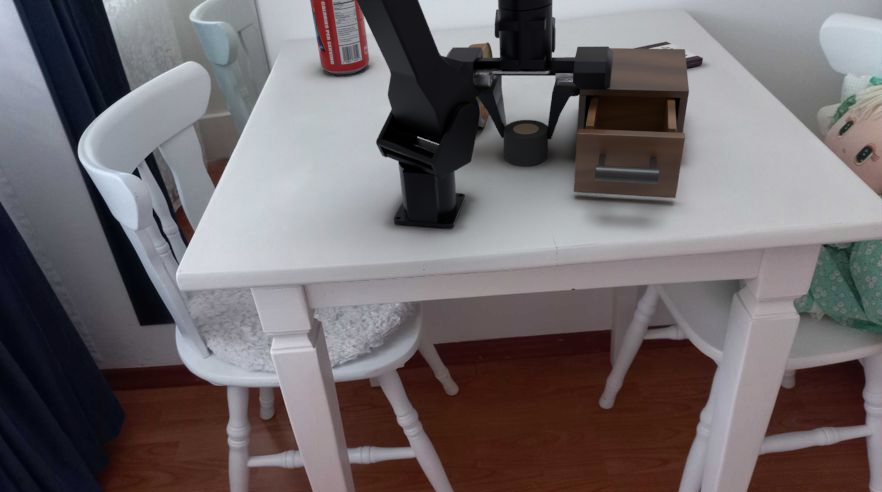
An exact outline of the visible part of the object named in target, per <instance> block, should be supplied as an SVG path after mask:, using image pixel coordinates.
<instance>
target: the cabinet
mask: <svg viewBox="0 0 882 492" xmlns="http://www.w3.org/2000/svg"><path fill="white" fill-rule="evenodd" d="M609 48H610V47H609ZM610 49H611V50H612V51H613V64H612V75H611V83H610V88H607V89H605V90H585V89H581V90H580V94H579V95H578V108H577V109H578V111H577V124H576V125H577V129H576V133H577V132H578V129H586V122H587V117H588V111H589V106H590V100H591V95H596V96H632V97H668V98H675V110H676V128H677V129H676V133H684V126H685V120H686V114H687V107H688V101H689V94H690V89H689V88H690V87H689V79H688V78H689V77H688V68H687V66H686V56H685V50H686V49H685V48H682V49H633V47H631V48H628V47H627V48H619V47H617V48H616V47H611V48H610ZM576 144H577V142H576ZM576 144H575V145H576Z"/></svg>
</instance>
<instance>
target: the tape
mask: <svg viewBox="0 0 882 492" xmlns="http://www.w3.org/2000/svg"><path fill="white" fill-rule="evenodd" d="M547 128H548V124H546V123H544V122H542V121H539V120H534V119H521V120H515V121H512V122H510V123H506V126H505V128H504V138H503V159H504V160H505V162H507V163H508V164H510V165H513V166H517V167H535V166H538V165H541V164H543V163H544V162H545V161H547V159H548V154H549V153H548V152H549V139H548V131H547Z"/></svg>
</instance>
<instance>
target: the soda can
mask: <svg viewBox="0 0 882 492" xmlns="http://www.w3.org/2000/svg"><path fill="white" fill-rule="evenodd" d="M309 3H310V7H311V13H312V14H311V15H312V19H313V27H314V30H315V31H314V32H315V37H316V43H317V50H318V55H319V61H320V66H321V68H322V69H323V70H324V71H326V72H328V73H330V74H333V75H337V76H341V75H342V76H344V75H345V76H346V75H351V74H352V75H353V74H356V73H358V72H360V71H362V70H363V69H364V68H365V67H367V66H368V64H369V63H370V54H369V45H368V37H367V36H368V35H367V30H366V20H365V17H364V15H363V13H362V11H361V8H360V6H359V4H358V2H357V0H309Z"/></svg>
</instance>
